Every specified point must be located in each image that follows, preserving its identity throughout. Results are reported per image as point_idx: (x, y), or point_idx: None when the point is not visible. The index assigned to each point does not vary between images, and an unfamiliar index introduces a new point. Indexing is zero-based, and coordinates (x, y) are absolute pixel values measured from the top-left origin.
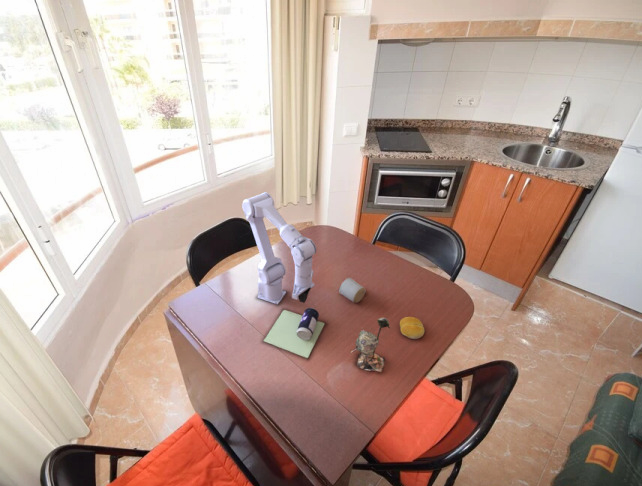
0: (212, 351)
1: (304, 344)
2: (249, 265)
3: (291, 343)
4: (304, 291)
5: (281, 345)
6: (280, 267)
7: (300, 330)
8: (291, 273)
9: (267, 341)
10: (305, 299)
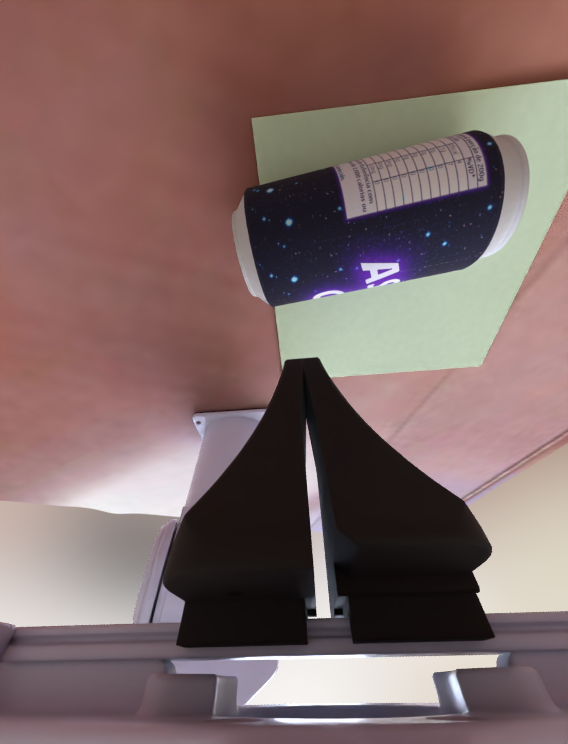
0: (532, 449)
1: None
2: (178, 515)
3: None
4: (436, 568)
5: (505, 292)
6: (172, 610)
7: (507, 239)
8: (90, 439)
9: (483, 353)
10: (335, 386)
